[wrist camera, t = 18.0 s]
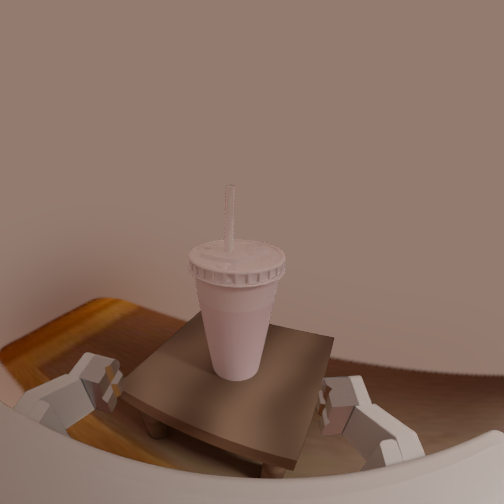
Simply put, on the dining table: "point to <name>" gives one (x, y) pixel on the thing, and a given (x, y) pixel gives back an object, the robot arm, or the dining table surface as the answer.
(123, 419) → the dining table surface
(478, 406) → the dining table surface
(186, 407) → the stool
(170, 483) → the robot arm
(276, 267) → the smoothie
